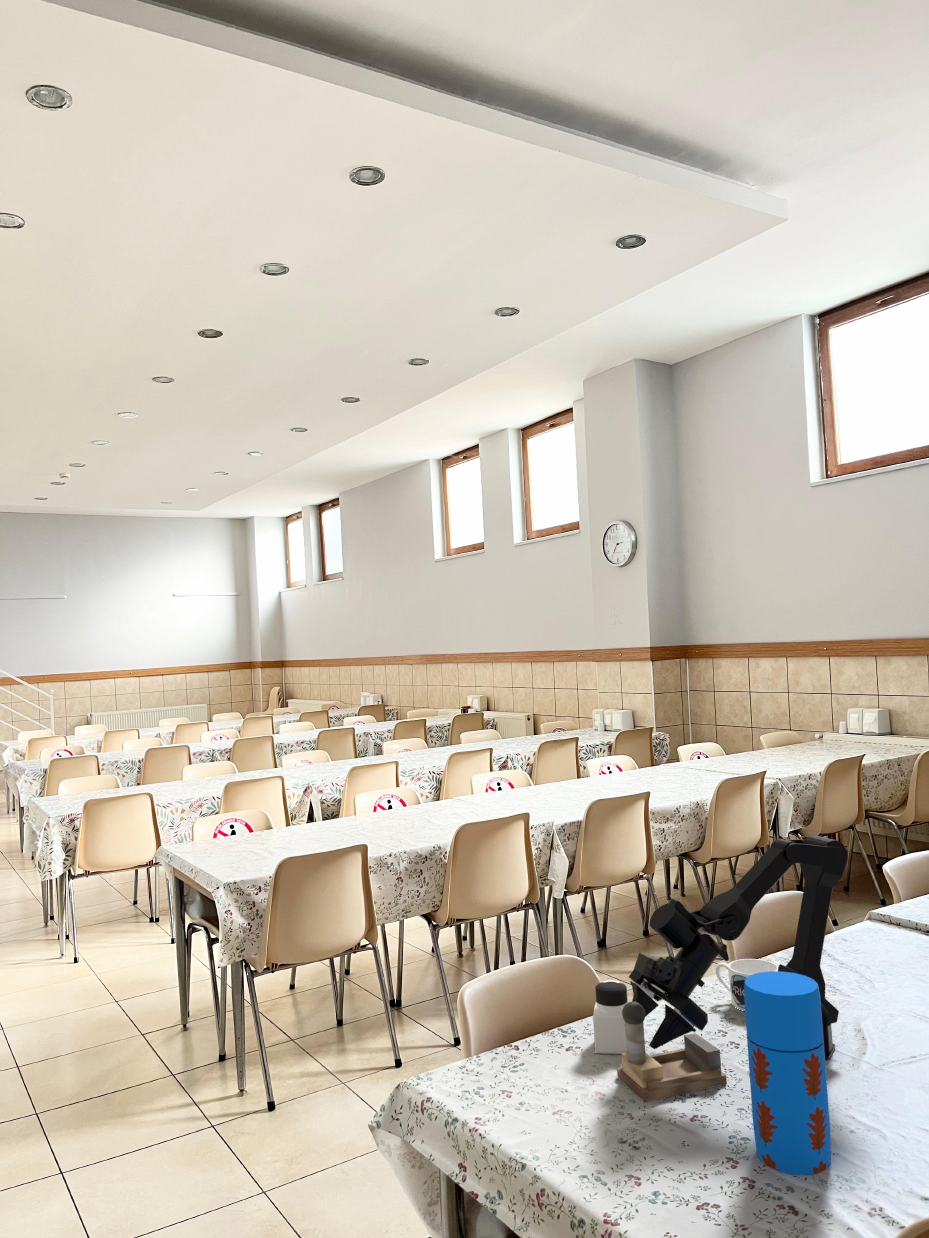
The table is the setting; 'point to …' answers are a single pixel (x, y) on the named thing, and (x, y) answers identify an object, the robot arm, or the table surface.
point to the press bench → (682, 1070)
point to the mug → (742, 976)
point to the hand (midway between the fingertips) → (638, 1037)
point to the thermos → (787, 1072)
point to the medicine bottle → (610, 1018)
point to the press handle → (638, 1048)
